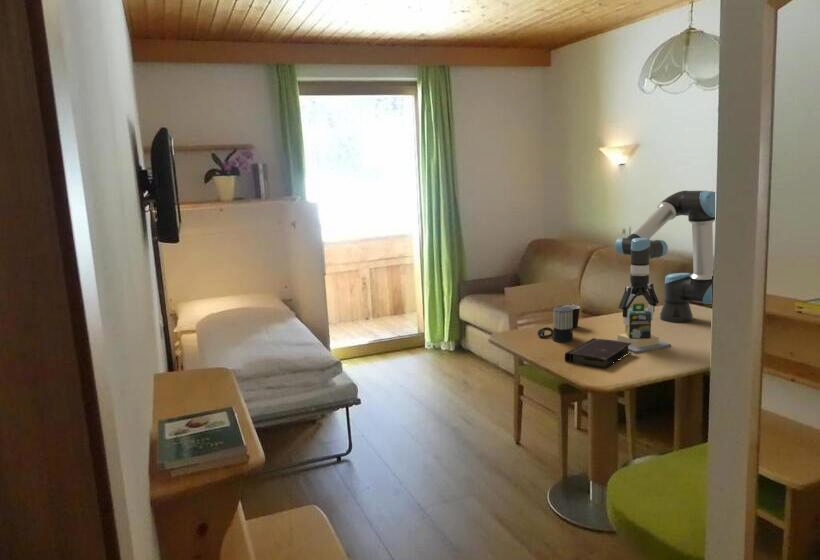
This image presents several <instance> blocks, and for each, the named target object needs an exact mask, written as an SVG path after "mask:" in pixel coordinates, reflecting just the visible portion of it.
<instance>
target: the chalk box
mask: <svg viewBox="0 0 820 560" xmlns="http://www.w3.org/2000/svg"><path fill="white" fill-rule="evenodd" d="M632 304H633V305H632V308H631V307H629V308H628V310H630V311H629V325H626V324H624V325H625V328H624V330H625V332H624V333H626V334H627V336H628V337H629V338H651V335H652V333H651V331H652V320H651V312H650V311H649V310H648V307H645V303H642V302H641V303H639V302H638V303H632Z"/></svg>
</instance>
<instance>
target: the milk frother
mask: <svg viewBox="0 0 820 560" xmlns="http://www.w3.org/2000/svg"><path fill="white" fill-rule="evenodd" d="M552 310H553V328H551V327H548V326H547V327H542V328H540V329H539V330H538V331H537V336H539V337H540V338H543V339H546V338H547V339H548V338H551V337H552V341H554V342H556V343H563V344H564V343H571V342H573V341H574V334H573V333H574V332H573V330H574V328H573V308H571V307H562V306H555V307H553V308H552ZM545 331H549V332H550V333H549V334H545Z"/></svg>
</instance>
